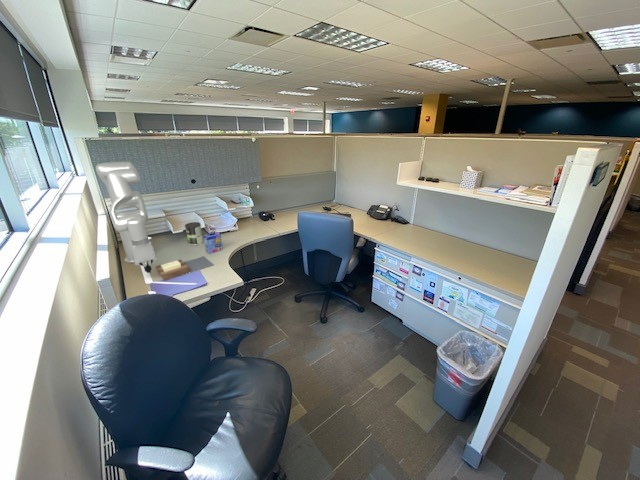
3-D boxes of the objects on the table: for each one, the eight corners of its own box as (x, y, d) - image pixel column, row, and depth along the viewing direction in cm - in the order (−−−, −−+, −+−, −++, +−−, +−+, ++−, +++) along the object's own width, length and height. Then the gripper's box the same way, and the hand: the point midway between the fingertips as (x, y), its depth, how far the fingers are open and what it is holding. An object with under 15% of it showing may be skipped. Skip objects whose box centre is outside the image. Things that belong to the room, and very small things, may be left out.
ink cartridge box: (209, 254, 183) (206, 234, 178) (205, 251, 187) (202, 232, 181) (223, 249, 190) (220, 230, 184) (219, 247, 193) (216, 228, 188)
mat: (181, 263, 171) (181, 262, 171) (203, 256, 180) (203, 256, 180) (190, 272, 160) (190, 272, 160) (213, 265, 169) (213, 264, 169)
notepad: (161, 268, 159) (160, 265, 158) (177, 263, 165) (177, 260, 164) (164, 271, 155) (163, 268, 154) (181, 266, 161) (180, 263, 160)
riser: (156, 271, 162) (155, 266, 161) (181, 263, 171) (180, 259, 170) (164, 280, 152) (163, 276, 151) (190, 272, 161) (189, 267, 160)
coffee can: (190, 246, 195) (186, 227, 189) (186, 241, 202) (183, 223, 197) (205, 243, 200) (202, 225, 195) (201, 238, 208) (198, 221, 203)
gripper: (154, 235, 152) (161, 265, 159) (122, 243, 143) (131, 274, 150) (158, 239, 147) (165, 269, 154) (125, 247, 138) (134, 279, 145)
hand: (148, 271), depth 152 cm, fingers closed
